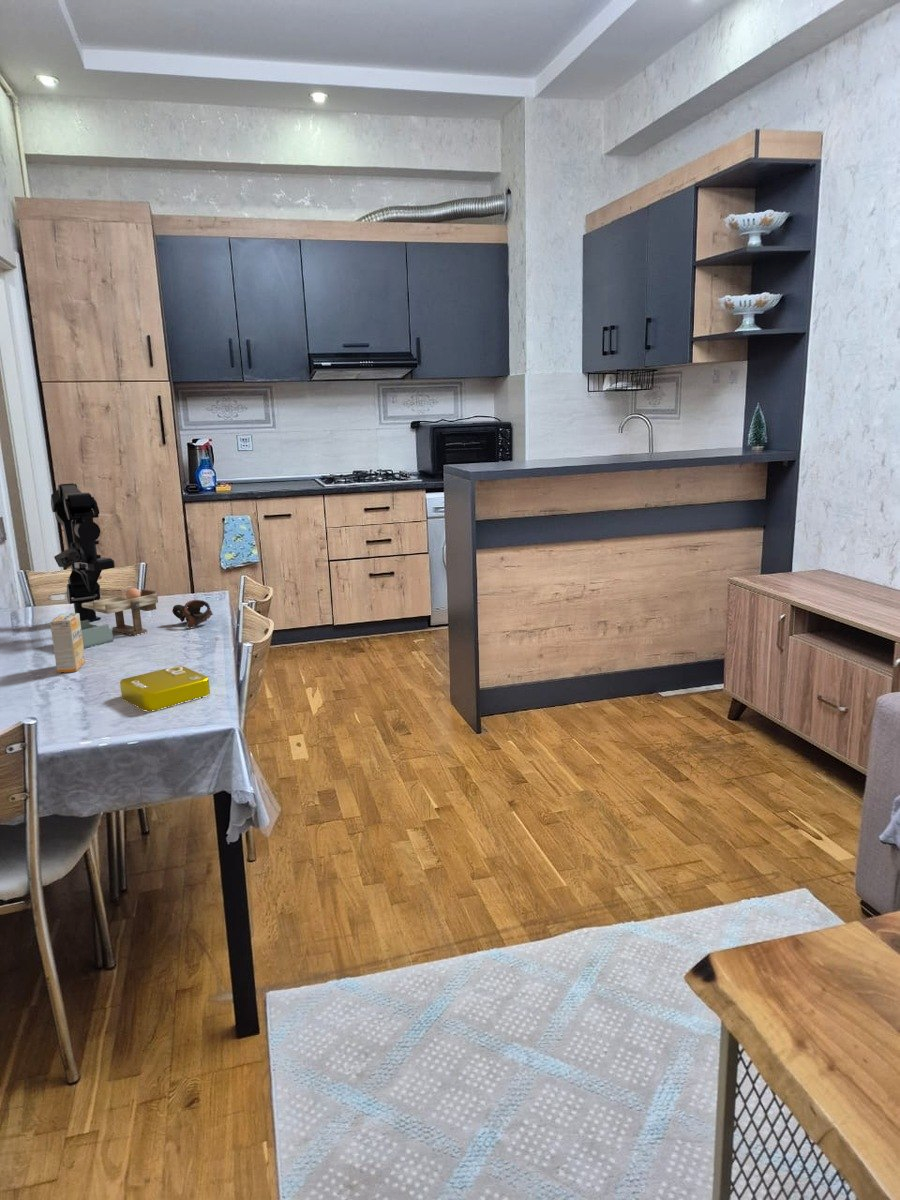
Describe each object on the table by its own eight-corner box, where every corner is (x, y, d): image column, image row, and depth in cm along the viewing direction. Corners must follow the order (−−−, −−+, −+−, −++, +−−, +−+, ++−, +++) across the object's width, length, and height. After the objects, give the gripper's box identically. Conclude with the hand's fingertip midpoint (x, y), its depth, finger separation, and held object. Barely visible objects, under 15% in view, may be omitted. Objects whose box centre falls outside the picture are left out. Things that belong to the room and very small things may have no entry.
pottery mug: (215, 620, 244) (216, 600, 239) (206, 641, 237) (207, 620, 231) (176, 612, 243) (176, 591, 238) (165, 632, 236) (165, 612, 230)
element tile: (118, 698, 176) (116, 678, 175) (182, 681, 186) (180, 662, 185) (147, 715, 165) (145, 693, 164) (214, 696, 175) (211, 675, 174)
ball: (123, 602, 231) (122, 588, 230) (136, 599, 234) (134, 586, 233) (131, 603, 228) (130, 590, 228) (144, 600, 232) (142, 587, 231)
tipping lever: (129, 603, 243) (127, 586, 242) (158, 609, 234) (156, 591, 233) (79, 614, 230) (77, 596, 229) (108, 620, 222) (106, 602, 220)
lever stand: (125, 627, 236) (121, 596, 234) (146, 632, 229) (143, 600, 227) (112, 630, 233) (108, 599, 231) (134, 635, 226) (130, 603, 224)
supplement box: (77, 672, 195) (70, 620, 192) (56, 673, 194) (49, 621, 191) (86, 662, 203) (80, 612, 200) (66, 663, 202) (59, 613, 199)
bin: (56, 645, 219) (53, 627, 218) (92, 636, 228) (90, 619, 226) (77, 650, 213) (74, 632, 212) (113, 641, 221) (111, 623, 220)
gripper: (39, 539, 225) (47, 593, 229) (74, 544, 214) (82, 600, 218) (76, 534, 234) (83, 586, 238) (112, 538, 223) (119, 592, 227)
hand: (91, 591), depth 230 cm, fingers closed
